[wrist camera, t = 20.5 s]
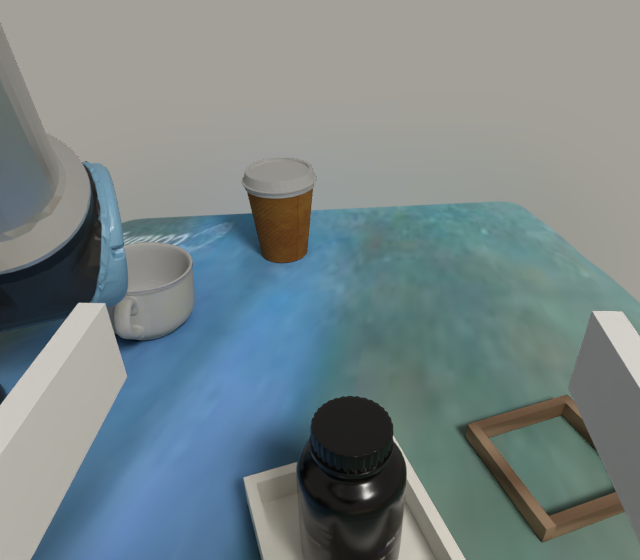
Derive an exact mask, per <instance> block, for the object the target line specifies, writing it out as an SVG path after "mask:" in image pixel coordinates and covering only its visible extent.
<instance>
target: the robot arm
mask: <svg viewBox="0 0 640 560" xmlns="http://www.w3.org/2000/svg"><path fill="white" fill-rule="evenodd" d="M123 247H124V240H123V230H122V224H121V218H120V213H119V208H118V203H117V198H116V193H115V190H114V186H113V182H112V179H111V175H110V173H109V171H108V170H107V168H106V167H104V166H103V165H101V164H98V163H89V162H86V161H85V162H81V161H80V159H79V157H78V156H77V155H76V154H75V152H74V151H73V150H72V149H71V148H69V147H68V146H67V145H66V144H64V143H63V142H62V141H60V140H58V139H57V138H55V137H53V136H51V135H49V134H47V133H45V131H44V128H43V126H42V124H41V121H40V119H39V116H38V114H37V111H36V109H35V106H34V104H33V101H32V99H31V96H30V94H29V92H28V89H27V87H26V84H25V82H24V79H23V77H22V75H21V72H20V70H19V67H18V65H17V63H16V60H15V57H14V55H13V53H12V50H11V48H10V46H9V43H8V40H7V38H6V35H5V33H4V31H3V28H2V26H1V23H0V333H1V332H5V331H10V330H14V329H19V328H23V327H28V326H32V325H37V324H41V323H46V322H50V321H55V320H59V319H64V318H67V319H66V320H65V321H64V322H63V324H62V325H61V326H60V328H59V329H58V330H57V332H56V333H55V334H54V336H53V337H52V338H51V339H50V341H49V342H48V343H47V345H46V346H45V347H44V349H43V350H42V351H41V353H40V354H39V355H38V356H37V358H36V359H35V360H34V362H33V363H32V364H31V366H30V367H29V368H28V370H27V371H26V372H25V373H24V375H23V376H22V377H21V379H20V380H19V381H18V383H17V384H16V385H15V387H14V388H13V389H12V390H11V392H10V393H9V394H8V396H7V395H6V393H5V391H4V389H3V387H2V386H1V384H0V560H31V558H32V556H33V555H34V553H35V551H36V549H37V547H38V545H39V543H40V541H41V539H42V538H43V536H44V534H45V532H46V530H47V528H48V526H49V524H50V522H51V520H52V519H53V517H54V515H55V513H56V511H57V509H58V507H59V505H60V503H61V501H62V500H63V498H64V496H65V494H66V492H67V490H68V488H69V486H70V484H71V482H72V481H73V479H74V477H75V475H76V473H77V471H78V469H79V467H80V465H81V463H82V462H83V460H84V458H85V456H86V454H87V452H88V450H89V448H90V446H91V444H92V443H93V441H94V439H95V437H96V435H97V433H98V431H99V429H100V427H101V425H102V424H103V422H104V420H105V418H106V416H107V414H108V412H109V410H110V408H111V406H112V405H113V403H114V401H115V399H116V397H117V395H118V393H119V391H120V389H121V387H122V386H123V384H124V382H125V380H126V378H127V374H126V371H125V368H124V364H123V361H122V358H121V354H120V351H119V348H118V344H117V341H116V338H115V334H114V331H113V328H112V324H111V321H110V318H109V314H108V311H107V308H108V307H112V306H114V305H116V304H118V303H120V302H121V301H122V300H123V299H124V297H125V295H126V293H127V290H128V268H127V259H126V253H125V249H124V248H123ZM568 389H569V391H570V393H571V395H572V398H573V400H574V402H575V404H576V406H577V408H578V411H579V413H580V415H581V417H582V419H583V421H584V424H585V426H586V428H587V430H588V432H589V434H590V437H591V439H592V441H593V443H594V445H595V447H596V450H597V452H598V454H599V456H600V458H601V461H602V463H603V465H604V467H605V469H606V471H607V474H608V476H609V478H610V480H611V482H612V484H613V487H614V489H615V491H616V493H617V495H618V497H619V500H620V502H621V504H622V506H623V508H624V510H625V513H626V515H627V517H628V519H629V521H630V524H631V526H632V528H633V530H634V532H635V534H636V537H637V539H638V541H639V543H640V336H639V335H638V333H637V332H636V330H635V329H634V327H633V326H632V325H631V323H630V322H629V320H628V319H627V317H626V316H625V315H624V313H623V312H618V311H592V313H591V316H590V319H589V323H588V326H587V329H586V332H585V335H584V339H583V342H582V345H581V348H580V351H579V355H578V358H577V361H576V364H575V367H574V371H573V374H572V377H571V380H570V383H569V387H568Z"/></svg>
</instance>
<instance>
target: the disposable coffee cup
mask: <svg viewBox="0 0 640 560" xmlns="http://www.w3.org/2000/svg"><path fill="white" fill-rule="evenodd" d="M315 182H316V174H315V173H314V172H313V168H312V166H311V164H309V163H308V162H306V161H304V160H300V159H294V158H271V159H265V160H261V161H258V162H255V163H253V164H251V165H249V166H248V167H247V168H246V169H245V174H244V177H243V179H242V184H243V186H244V187H245V189H246V191H247V193H248V197H249V200H250V205H251V209H252V213H253V217H254V222H255V226H256V230H257V234H258V238H259V242H260V247H261V250H262V255H263V256H264V258H266V259H267V260H269V261H272V262H278V263H287V262H293V261H296V260H299V259H301V258H303V257H304V256H305V255H306V254H307V248H308V236H309V227H310V214H311V203H312V191H313V187H314V183H315Z"/></svg>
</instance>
